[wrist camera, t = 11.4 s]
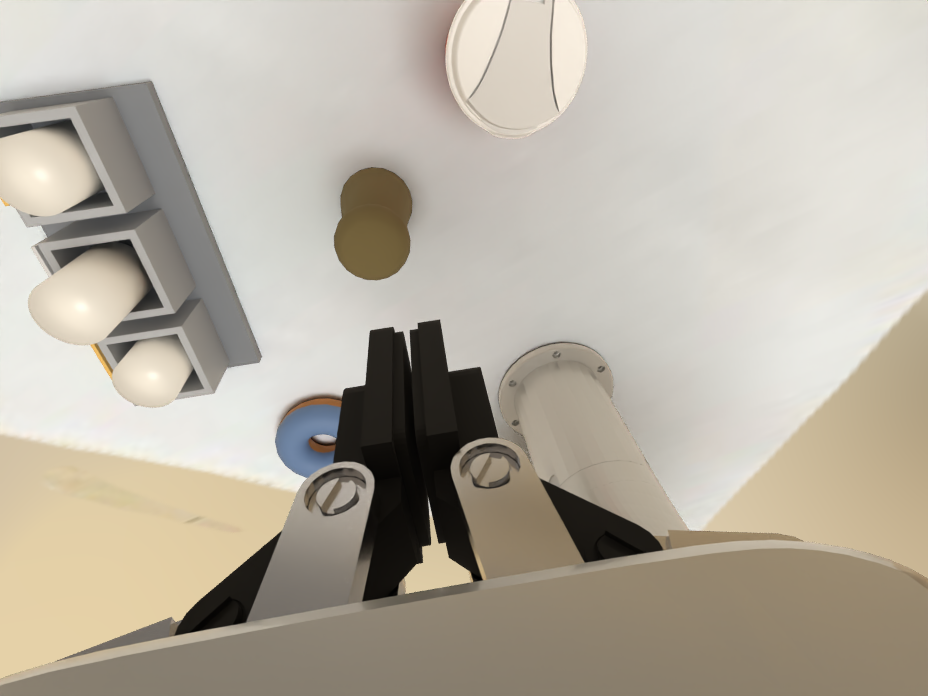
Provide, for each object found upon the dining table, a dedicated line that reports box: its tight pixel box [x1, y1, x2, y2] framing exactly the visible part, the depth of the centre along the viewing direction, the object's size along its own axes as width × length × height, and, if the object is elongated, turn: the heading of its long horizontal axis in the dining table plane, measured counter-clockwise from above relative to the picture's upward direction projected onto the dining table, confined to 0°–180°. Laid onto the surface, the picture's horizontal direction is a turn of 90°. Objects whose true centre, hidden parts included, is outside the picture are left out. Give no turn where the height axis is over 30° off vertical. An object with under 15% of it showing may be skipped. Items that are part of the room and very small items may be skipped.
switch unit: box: [0, 82, 262, 406], centre depth 40 cm, size 24×12×6 cm, turn 6°
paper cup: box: [445, 0, 587, 139], centre depth 32 cm, size 8×8×14 cm
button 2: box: [112, 334, 194, 408], centre depth 43 cm, size 5×5×7 cm
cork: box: [334, 167, 412, 280], centre depth 38 cm, size 6×6×11 cm
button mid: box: [28, 241, 153, 345], centre depth 36 cm, size 5×5×7 cm
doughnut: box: [275, 398, 342, 478], centre depth 53 cm, size 10×10×5 cm
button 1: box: [0, 120, 105, 217], centre depth 34 cm, size 5×5×7 cm
